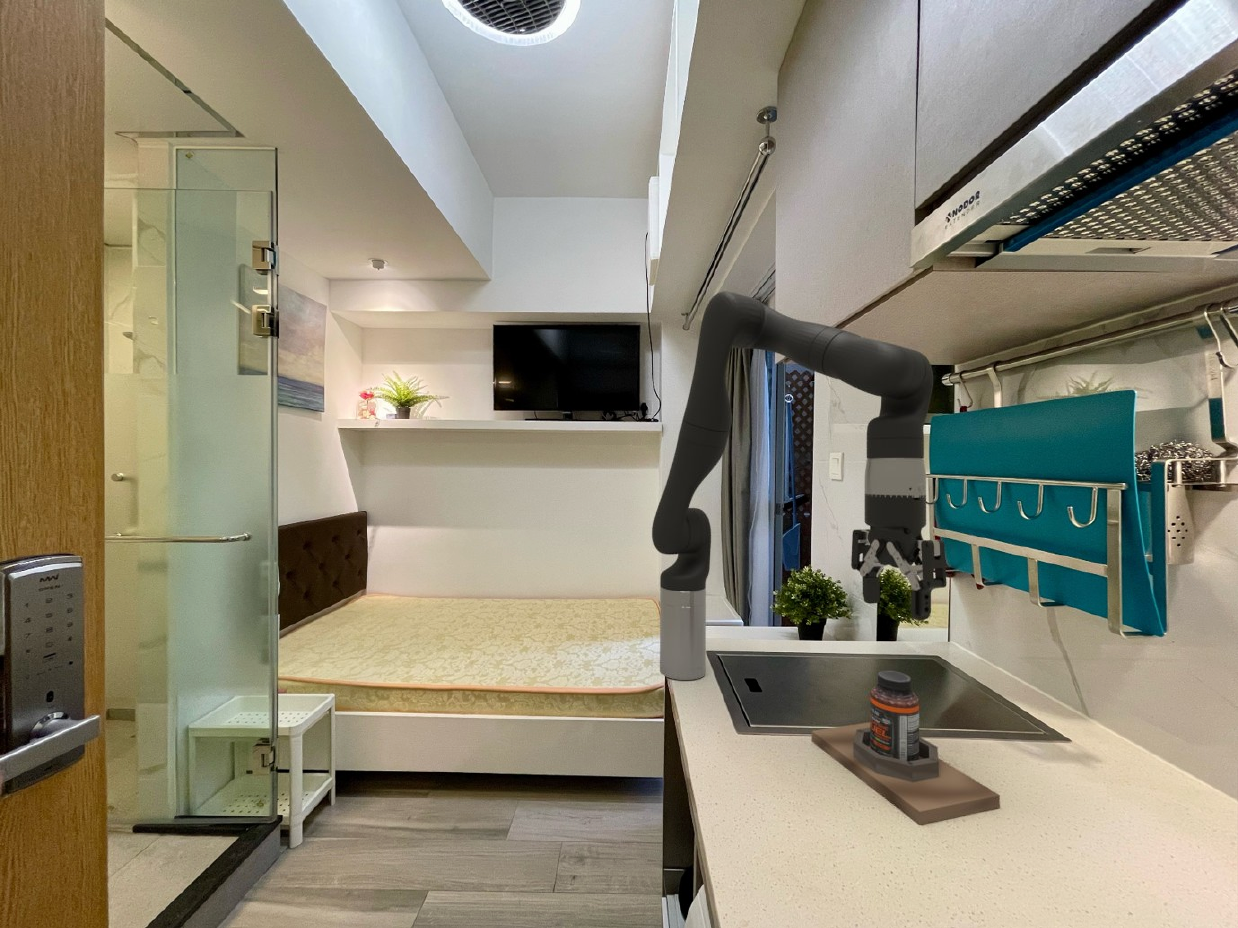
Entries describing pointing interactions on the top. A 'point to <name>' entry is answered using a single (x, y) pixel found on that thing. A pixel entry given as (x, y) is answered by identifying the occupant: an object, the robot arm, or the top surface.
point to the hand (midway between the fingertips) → (894, 610)
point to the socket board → (908, 793)
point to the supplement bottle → (894, 717)
